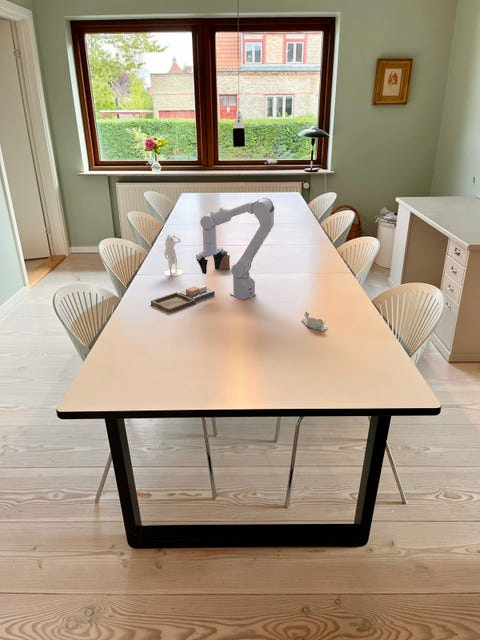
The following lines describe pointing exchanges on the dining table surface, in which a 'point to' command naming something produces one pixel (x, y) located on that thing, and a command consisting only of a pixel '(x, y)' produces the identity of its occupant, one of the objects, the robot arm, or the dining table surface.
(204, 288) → the tile
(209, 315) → the dining table surface
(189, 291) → the tile
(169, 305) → the box
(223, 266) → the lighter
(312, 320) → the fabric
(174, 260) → the female figurine
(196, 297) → the slate plate
